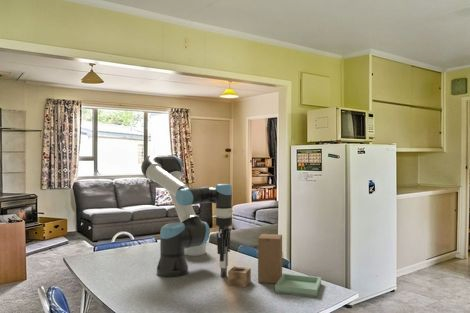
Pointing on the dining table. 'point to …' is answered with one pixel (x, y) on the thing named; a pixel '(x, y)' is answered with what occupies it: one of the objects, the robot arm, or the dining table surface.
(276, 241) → the wooden block
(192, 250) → the utensil holder
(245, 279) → the wooden socket block
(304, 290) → the tray
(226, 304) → the dining table surface
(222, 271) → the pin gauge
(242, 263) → the dining table surface
